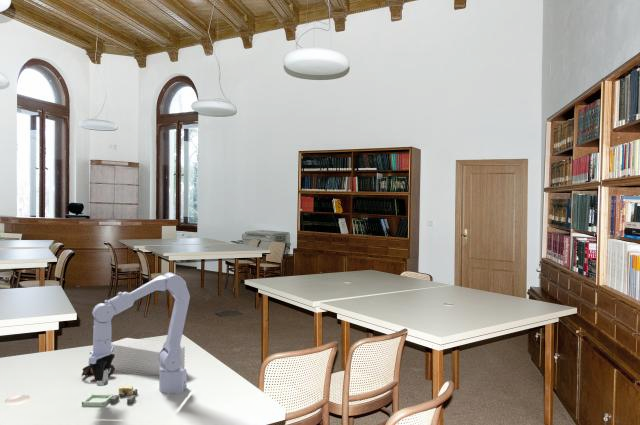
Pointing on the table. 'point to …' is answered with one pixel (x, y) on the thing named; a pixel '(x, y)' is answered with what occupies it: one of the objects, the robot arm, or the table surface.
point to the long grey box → (139, 356)
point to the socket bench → (116, 397)
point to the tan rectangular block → (126, 390)
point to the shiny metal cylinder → (104, 378)
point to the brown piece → (89, 371)
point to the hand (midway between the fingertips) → (101, 378)
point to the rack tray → (97, 400)
